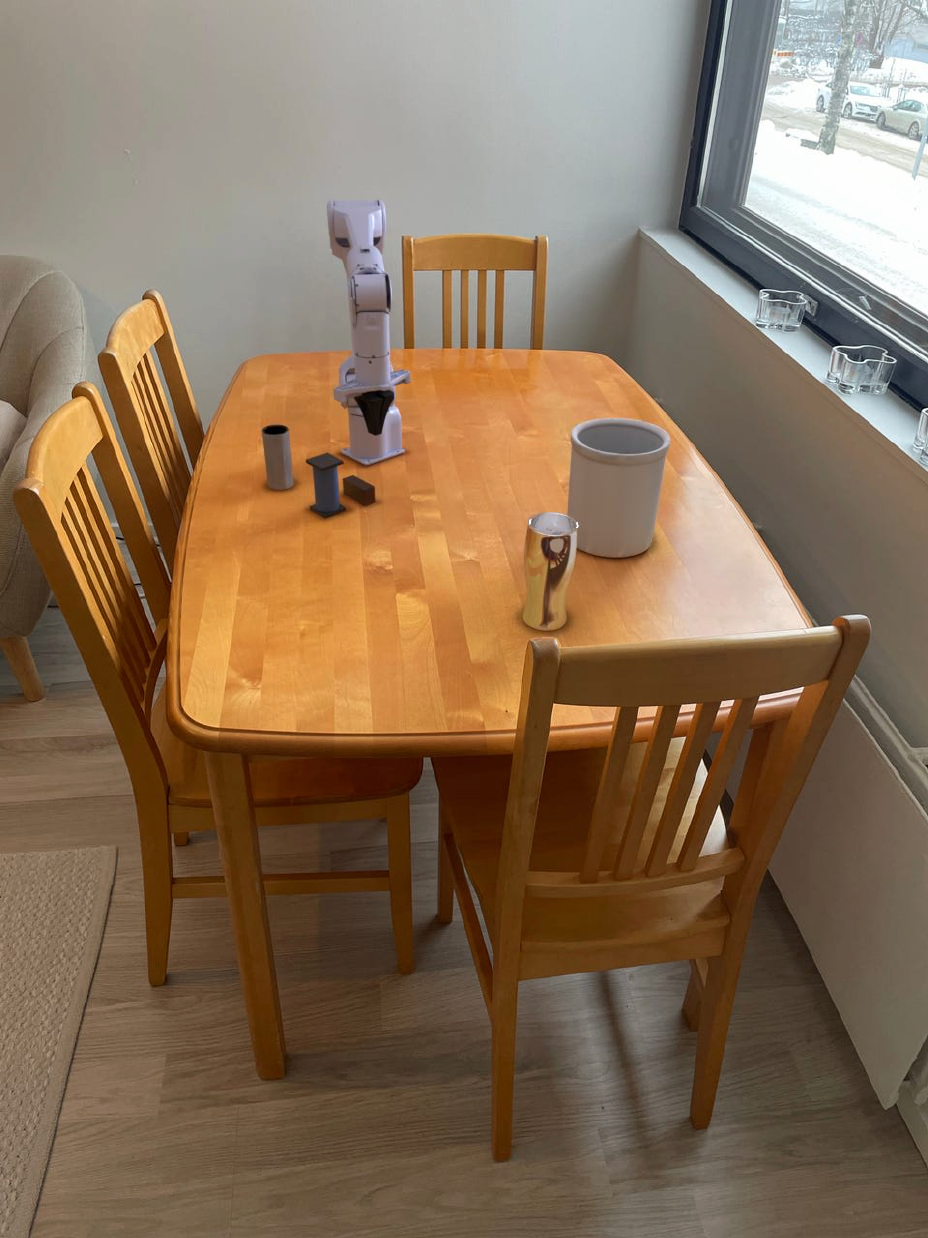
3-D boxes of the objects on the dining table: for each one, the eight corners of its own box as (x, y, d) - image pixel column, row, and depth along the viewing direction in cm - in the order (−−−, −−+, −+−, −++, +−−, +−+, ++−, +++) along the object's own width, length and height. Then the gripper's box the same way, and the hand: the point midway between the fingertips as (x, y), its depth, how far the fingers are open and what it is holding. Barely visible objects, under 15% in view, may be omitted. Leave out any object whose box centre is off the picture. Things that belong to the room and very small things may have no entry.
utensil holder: (545, 524, 150) (553, 423, 140) (623, 509, 155) (636, 410, 145) (590, 567, 139) (602, 461, 129) (672, 549, 144) (690, 446, 134)
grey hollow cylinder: (288, 491, 158) (283, 435, 152) (263, 489, 158) (257, 433, 152) (297, 480, 161) (292, 425, 155) (273, 477, 162) (267, 423, 156)
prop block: (353, 490, 159) (353, 474, 157) (375, 502, 155) (374, 486, 153) (343, 494, 157) (342, 478, 156) (365, 506, 154) (364, 490, 152)
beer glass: (516, 605, 130) (522, 511, 121) (564, 604, 130) (574, 510, 122) (523, 633, 124) (530, 537, 116) (573, 632, 125) (584, 535, 116)
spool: (349, 465, 155) (313, 444, 147) (366, 474, 152) (330, 452, 145) (323, 515, 155) (285, 497, 148) (338, 525, 153) (301, 506, 145)
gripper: (351, 368, 139) (355, 451, 147) (422, 349, 148) (423, 429, 155) (323, 357, 143) (329, 438, 151) (394, 339, 152) (396, 417, 159)
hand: (374, 433), depth 153 cm, fingers closed
